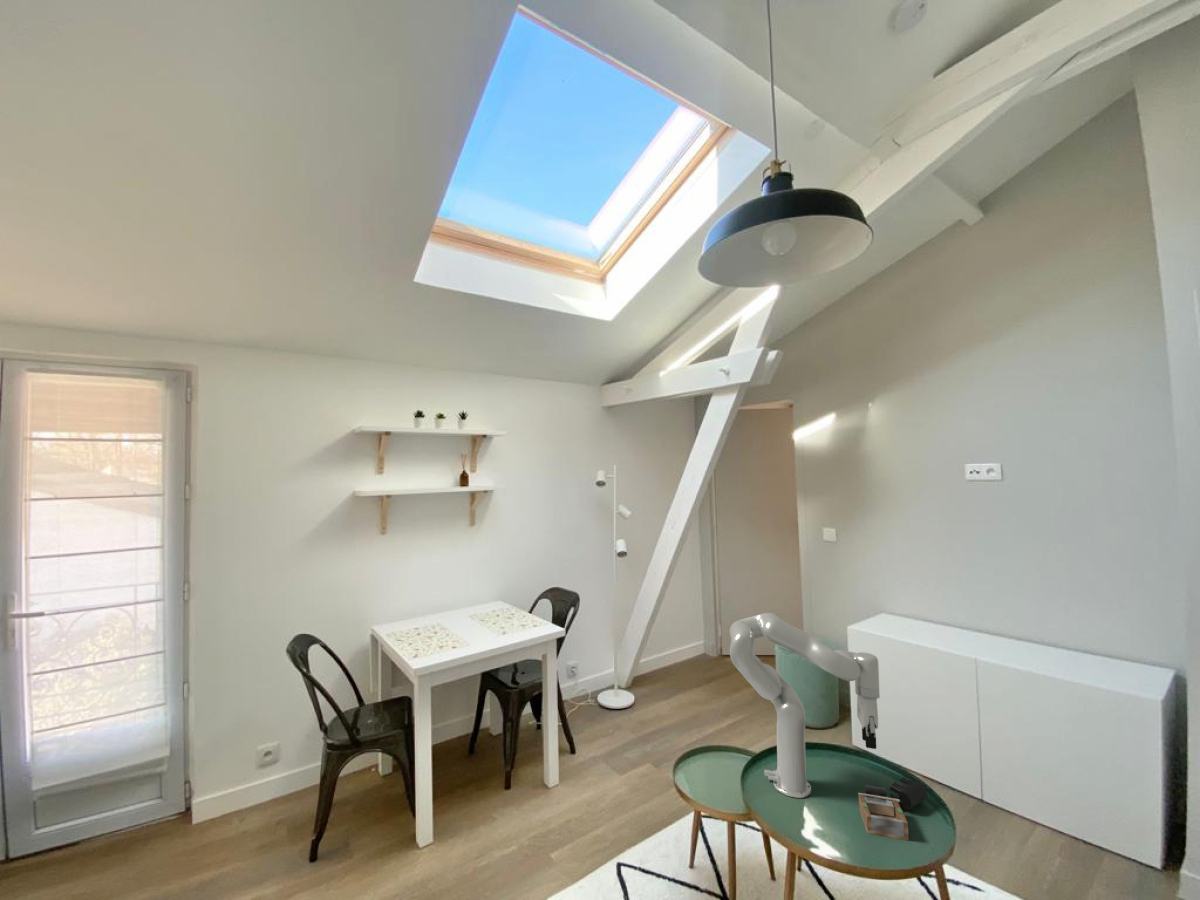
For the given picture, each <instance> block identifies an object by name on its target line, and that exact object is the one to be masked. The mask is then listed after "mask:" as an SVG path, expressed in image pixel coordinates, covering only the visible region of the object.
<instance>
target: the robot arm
mask: <svg viewBox="0 0 1200 900" xmlns="http://www.w3.org/2000/svg"><path fill="white" fill-rule="evenodd" d="M729 636H730V639H731V640H730V647H729V656H730V661H731V663H732V664H733V666H734V667H735V669H736V670H737V671H738V672H739V673H740V674H741V675H742V676H743V677H744V679H745V680H746V681H747V683H748V684H750V685H751V687H752V688H753V689H754V690H755V691H756V693H758V695H759V696H760V697H762V698H763V699H765V700H768V701H770V702H771V703H772V704H773V706H774V709H775V712H776V756H777V757H776V759H777V760H776V762H777V763H776V765H777V767H775V768H776V769H774V770H770V769H763V770H764V771H763V772H764V776H765V777H767V779H768V780H771V781H772V782H773V783H772V784H773V786H774V788H775V789H776V790H777V791H778V792H780V793H781V794H783V795H785V796H787V797H791V798H796V799H797V798H798V799H799V798H800V799H801V798H802V799H803V798H805V797H808V796H810V795H811V793H812V786H811V784H810V782H808V780H807V769H806V768H807V767H806V766H807V765H806V763H807V762H806V761H807V760H806V724H807V723H806V722H807V721H806V720H807V719H806V718H807V716H806V710H805V707H804V704H803V703H802V701H801V700H800V699H801V698H799V695H798V694H797V692H796V691H795V690H794V689H793V688H792V686H791V685H790V684H789V683H788V682H787V681H786V679H784V678H783V676H782V675H780V673H779V672H778V671H777V670H776V669H775V668H774V667H772V666H771V665H770V664H768V663H763V662H762V660H761V659H760V658H759V657H758V656H757V655H755V652H754V648H755V644H756V640H758V639H761V638H765V639H766V640H768V641H770V642H771V643H773V644H775V645H777V646H780V647H781V648H783V649H786V650H788V651H790V652H792V653H794V654H795V655H798V656H800V657H801V658H803V659H804V660H806V661H808V662H809V663H811V664H813V665H815V666H816V667H818V668H820V669H821V670H824V671H825V672H826V673H829V674H831V675H833V676H835V677H837V678H839V679H841V680H844V681H847V682H854V684H855V685H854V686H855V687H854V690H855V691H854V692H855V694H856V716H857V719H858V721H859V723H860V725H861V735H862V736H861V737H862V741H865V748H867V749H872V750H875V749H877V736H876V730H877V729H878V728H879V714H878V712H879V711H878V701H877V699H879V698H880V696H881V695H880V677H879V676H880V675H879V674H880V672H879V671H880V670H879V667H880V666H879V659H878V657H877V656H876V655H875V654H872V653H869V652H853V651H849V650H843V649H835V650H833V649H831V648H829V647H828V646H827V645H824V644H823V643H822V642H821V641H819V640H818V639H817V638H816V637H815V636H813V635H812V634H810V633H808V632H806V631H804V630H802V629H801V628H798V627H796V626H794V625H791V624H789V623H788V622H786V621H783V620H781V618H780V617H779V616H778V615H777V614H775V613H772V612H764V613H760V614H757V615H753V616H748V617H746V618H742V619H738V620H735V621H734V622H733V623H731V625H730V627H729Z"/></svg>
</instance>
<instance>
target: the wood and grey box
mask: <svg viewBox="0 0 1200 900" xmlns="http://www.w3.org/2000/svg"><path fill="white" fill-rule="evenodd" d="M864 797H865V796H862V795H858V809H859V813H860V815H861V818H862V821H863V824H864V827H865V830H866V832H867V834H870V835H875V836H881V837H886V838H892V839H898V840H904V841H909V840H910V839H909V822H908V821H907V818H906V816H905V814H904V812H903V811H904V810H902V809H901V808H900V806H899V804H898V802H897V801H892V800H891V801H892V804H893V806H894V816H888V815H882V814H876V813H870V812H869V810H868V806H867V804H866V802H865V799H864Z"/></svg>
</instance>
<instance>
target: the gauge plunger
mask: <svg viewBox="0 0 1200 900" xmlns="http://www.w3.org/2000/svg"><path fill="white" fill-rule="evenodd" d="M864 791H865V792H864V793H861V792H858V793H857V794H858V796H859V795H862V796H864V799H865V802H866V804H867V806H868V810H869V812H870V813H876V814H882V815H888V816H894V806H893V804H892V801H899V802H900V800H899V799H893V798H890V797H888V796H887V790H886V788H885V787H880V786H873V785H868V784H865V785H864Z"/></svg>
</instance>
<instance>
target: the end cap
mask: <svg viewBox="0 0 1200 900" xmlns="http://www.w3.org/2000/svg"><path fill="white" fill-rule="evenodd" d="M899 781H900V782H901V783H903V784H905V785H902V784H899V782H896V781H895V782H894V781H893V782H892V783H890V785H889V791H891V792H893V793H894V794H896V795H894V794H892V793H890V794H889V795H890V796H889V798H893V799H899V800H900V802H899V801H897V802H898V804H899V806H900V808H901V809H902V811H905V812H906V811H908V810H911V809H912V808H914V807H916V806H917V805H919V804H922V803H923V802H924V801H927V798H928V792H927V789H926V787H925V786H924V784H922V783H921V782H920V781H918V780H916V781H915V782H914V781H913V780H911V779H908V778H906V777H902V778H899Z"/></svg>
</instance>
